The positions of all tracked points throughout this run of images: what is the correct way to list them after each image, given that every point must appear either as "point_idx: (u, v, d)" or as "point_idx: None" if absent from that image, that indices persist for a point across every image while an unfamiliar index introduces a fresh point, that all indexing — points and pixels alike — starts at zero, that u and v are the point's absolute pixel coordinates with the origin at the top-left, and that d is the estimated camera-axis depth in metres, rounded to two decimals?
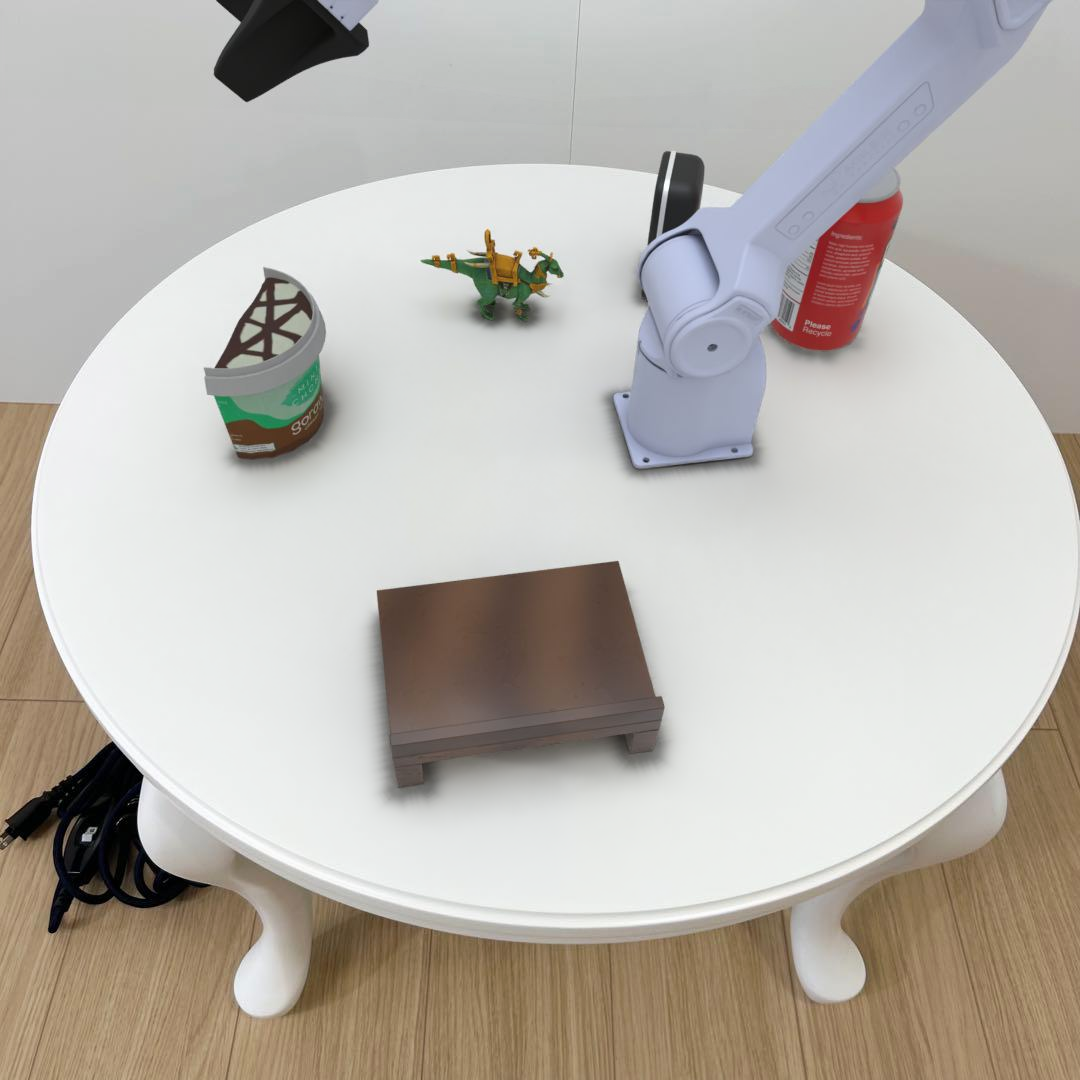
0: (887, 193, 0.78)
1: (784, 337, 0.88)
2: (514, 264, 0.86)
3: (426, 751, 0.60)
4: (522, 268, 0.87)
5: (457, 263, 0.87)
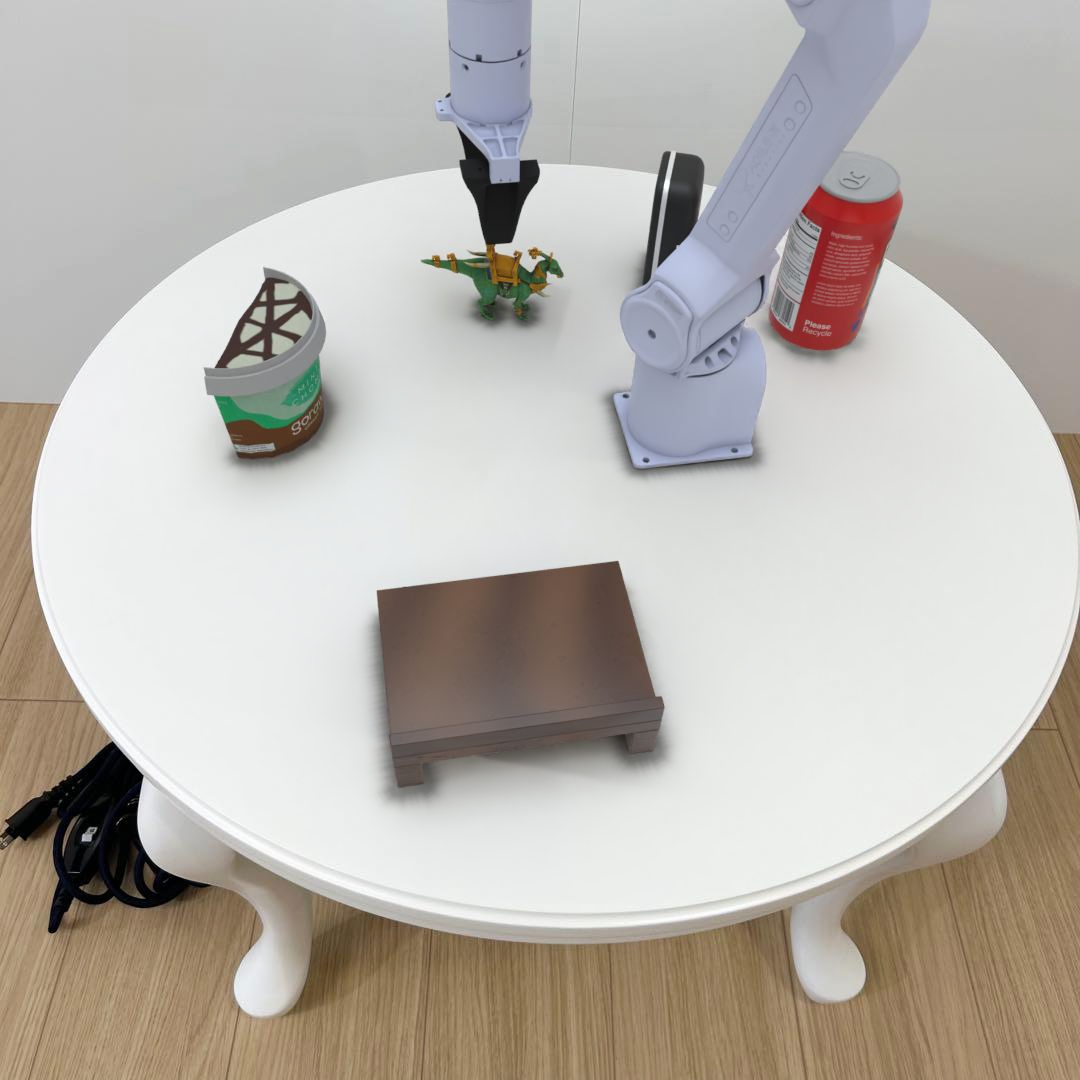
0: (887, 193, 0.78)
1: (784, 337, 0.88)
2: (514, 264, 0.86)
3: (426, 751, 0.60)
4: (522, 268, 0.87)
5: (457, 263, 0.87)
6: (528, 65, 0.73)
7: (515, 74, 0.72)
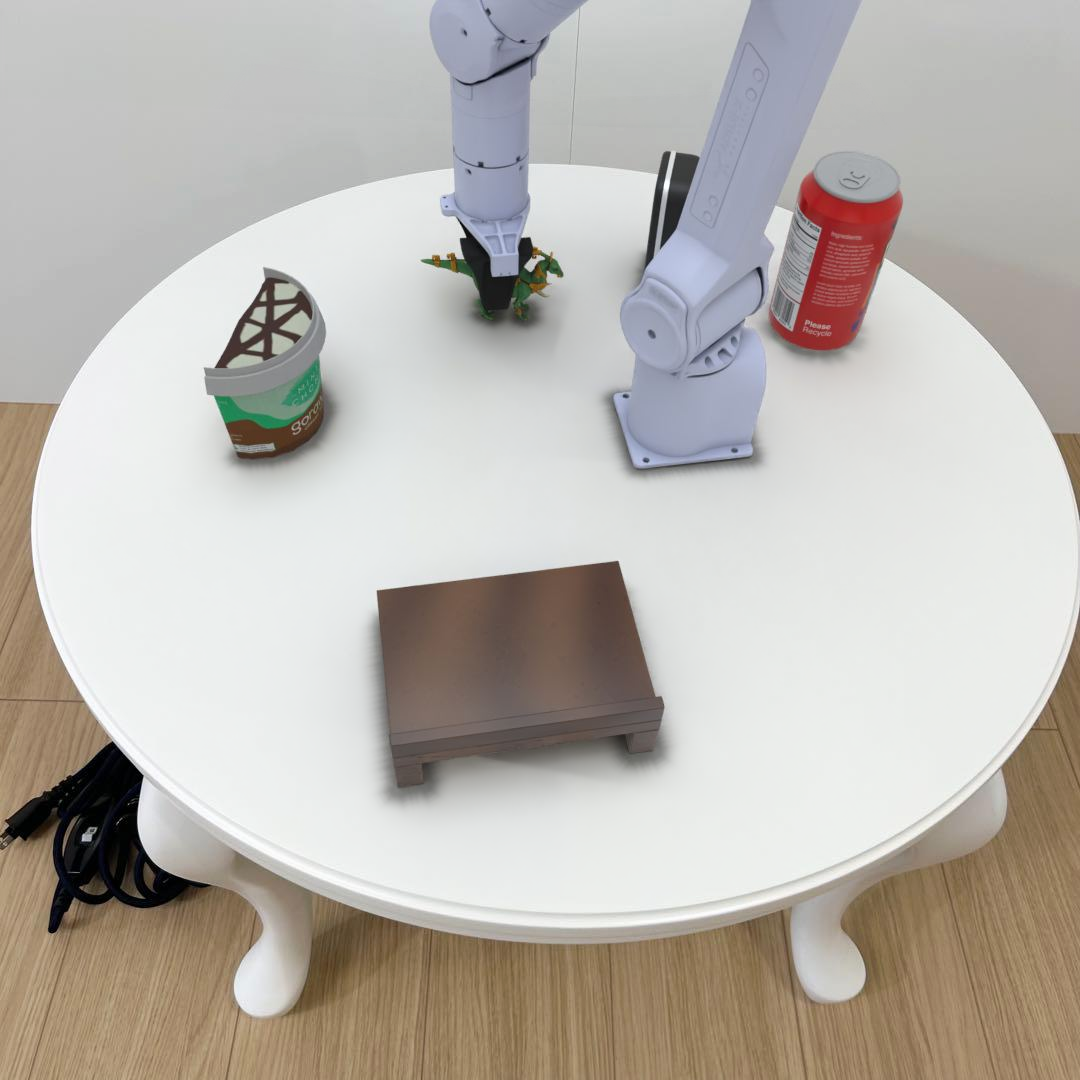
0: (887, 193, 0.78)
1: (784, 337, 0.88)
2: None
3: (426, 751, 0.60)
4: None
5: (457, 263, 0.87)
6: (526, 168, 0.79)
7: (514, 177, 0.78)
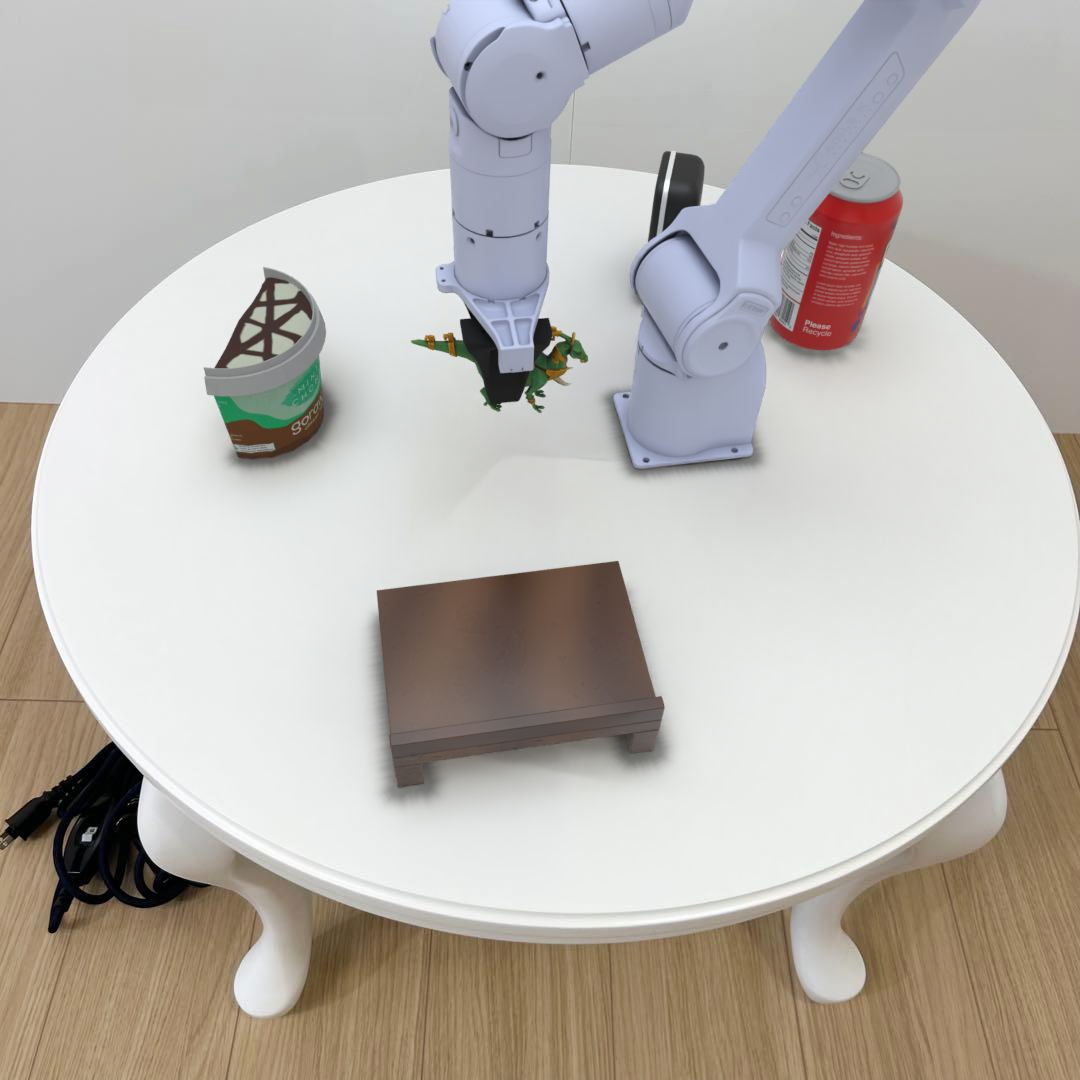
0: (887, 193, 0.78)
1: (784, 337, 0.88)
2: None
3: (426, 751, 0.60)
4: None
5: (456, 345, 0.70)
6: (545, 235, 0.62)
7: (529, 247, 0.61)
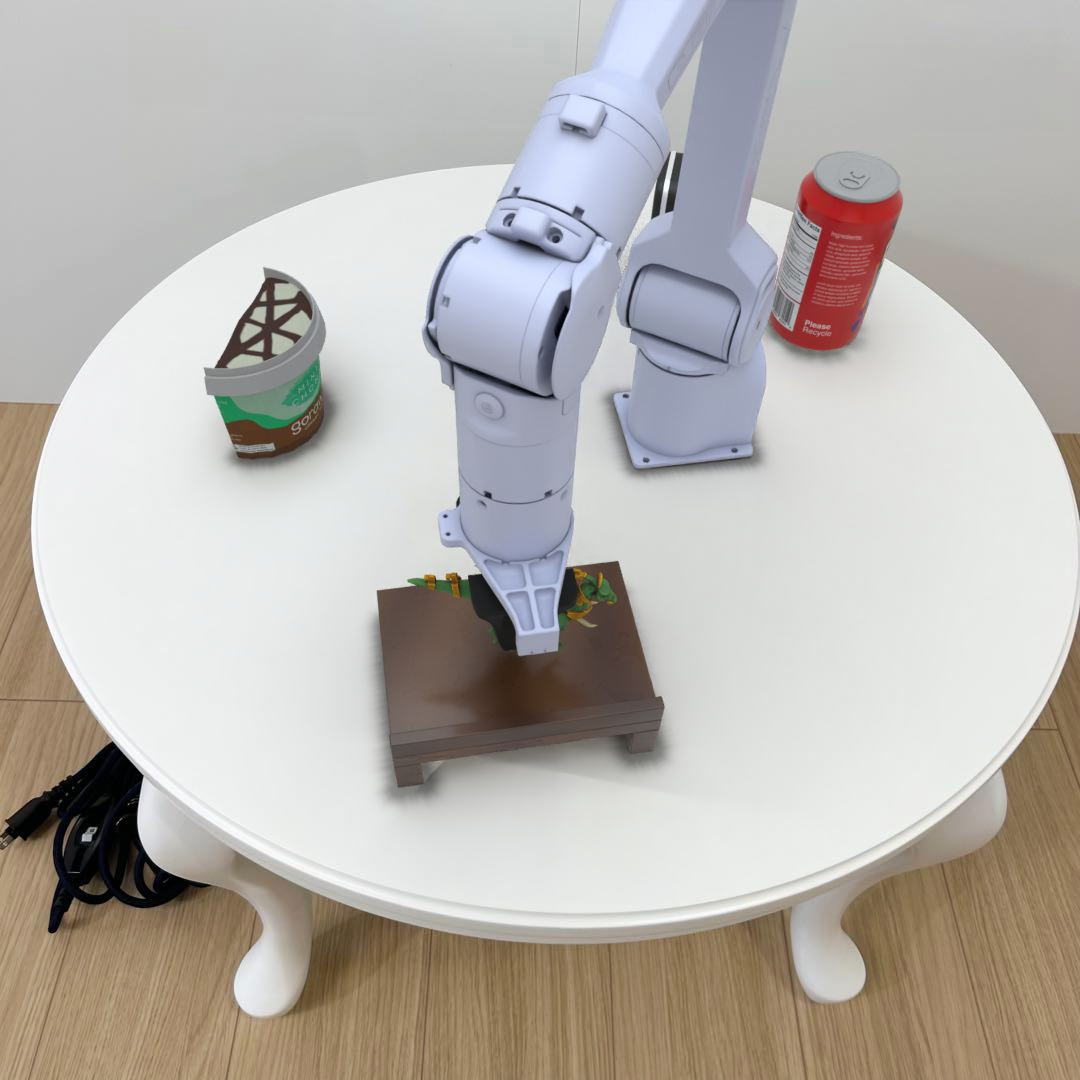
0: (887, 193, 0.78)
1: (784, 337, 0.88)
2: None
3: (426, 751, 0.60)
4: None
5: (461, 585, 0.59)
6: (570, 489, 0.52)
7: (552, 509, 0.51)
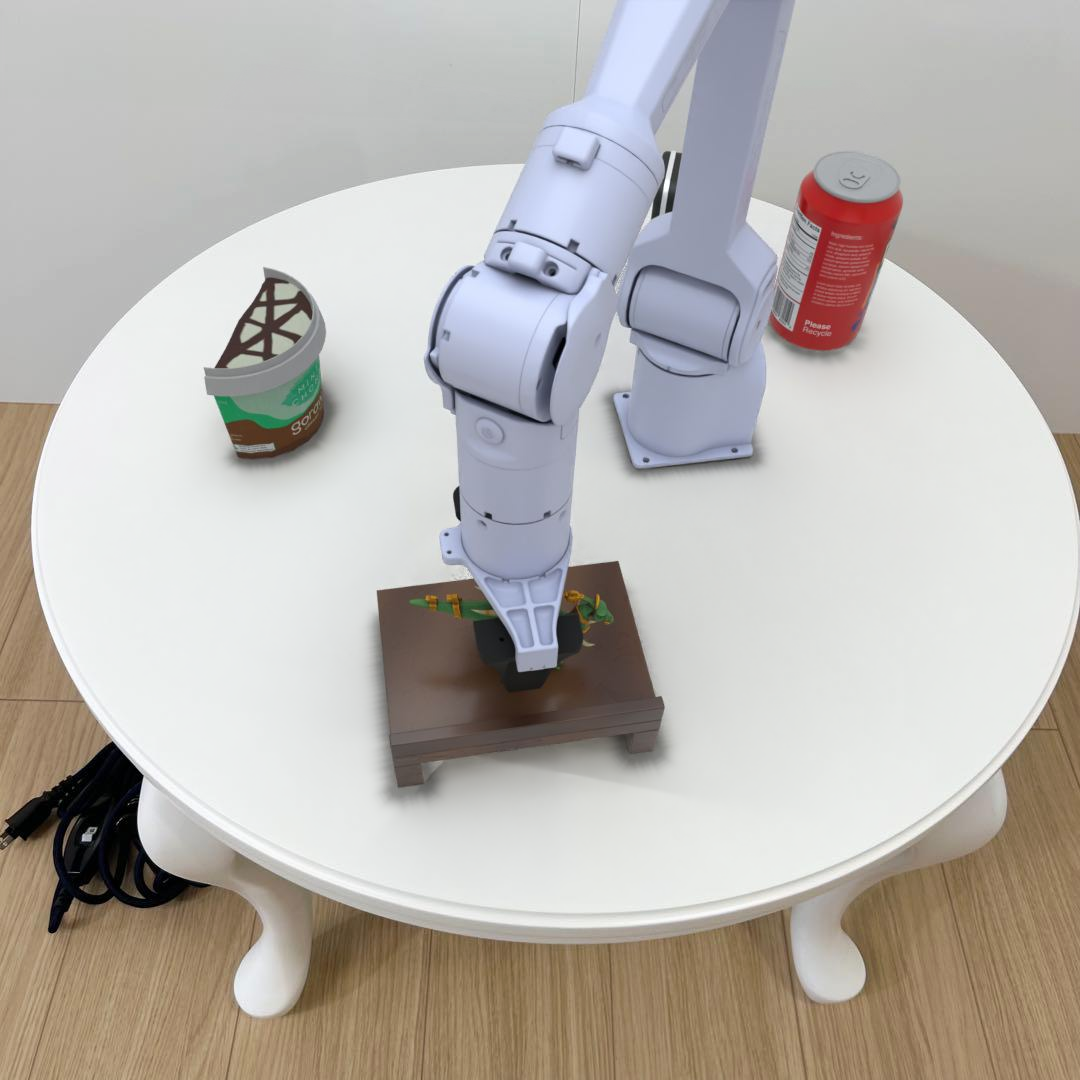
0: (887, 193, 0.78)
1: (784, 337, 0.88)
2: None
3: (426, 751, 0.60)
4: None
5: (462, 606, 0.61)
6: (569, 509, 0.53)
7: (551, 529, 0.52)
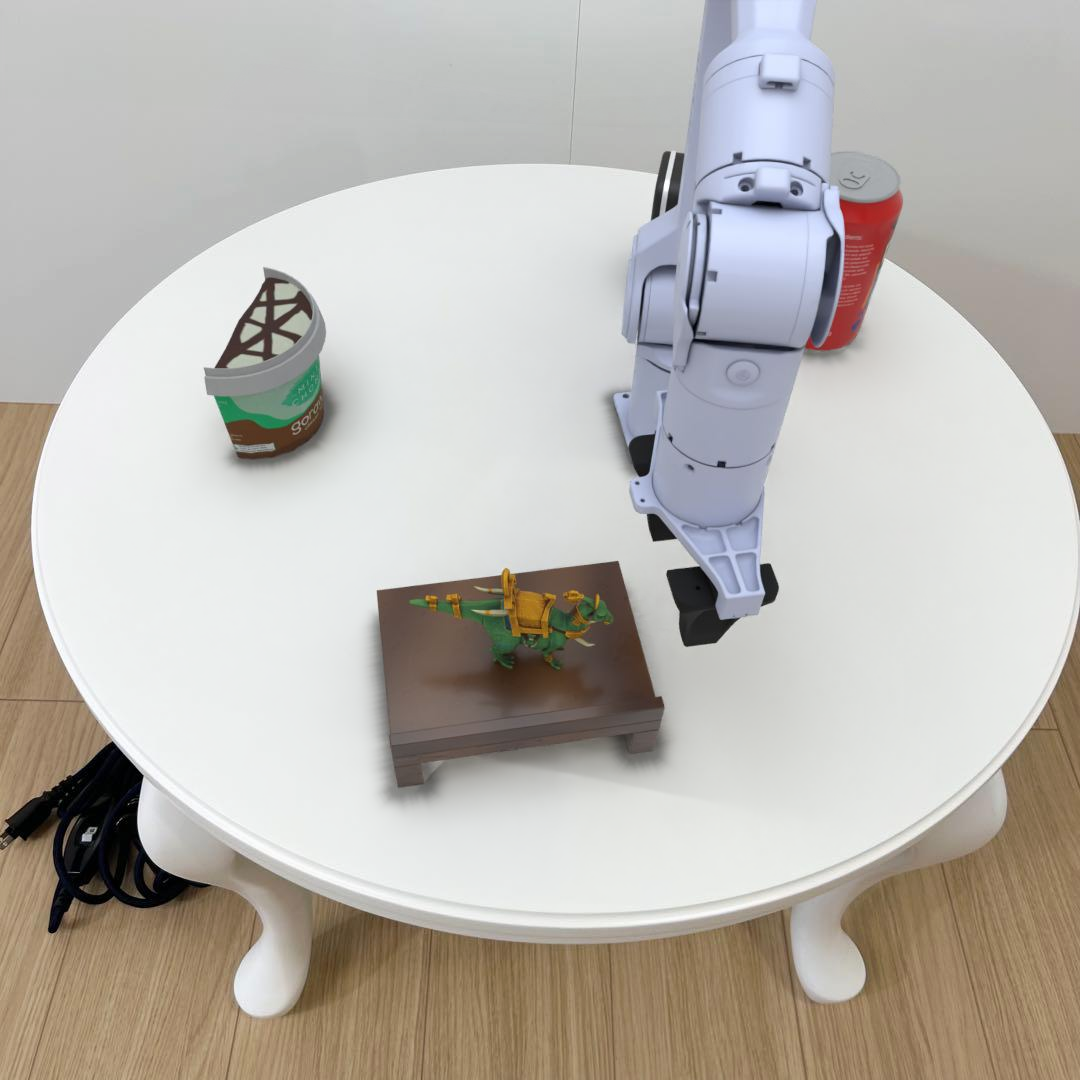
0: (887, 193, 0.78)
1: None
2: (543, 611, 0.60)
3: (426, 751, 0.60)
4: (555, 612, 0.61)
5: (462, 606, 0.61)
6: (772, 455, 0.52)
7: (757, 474, 0.51)
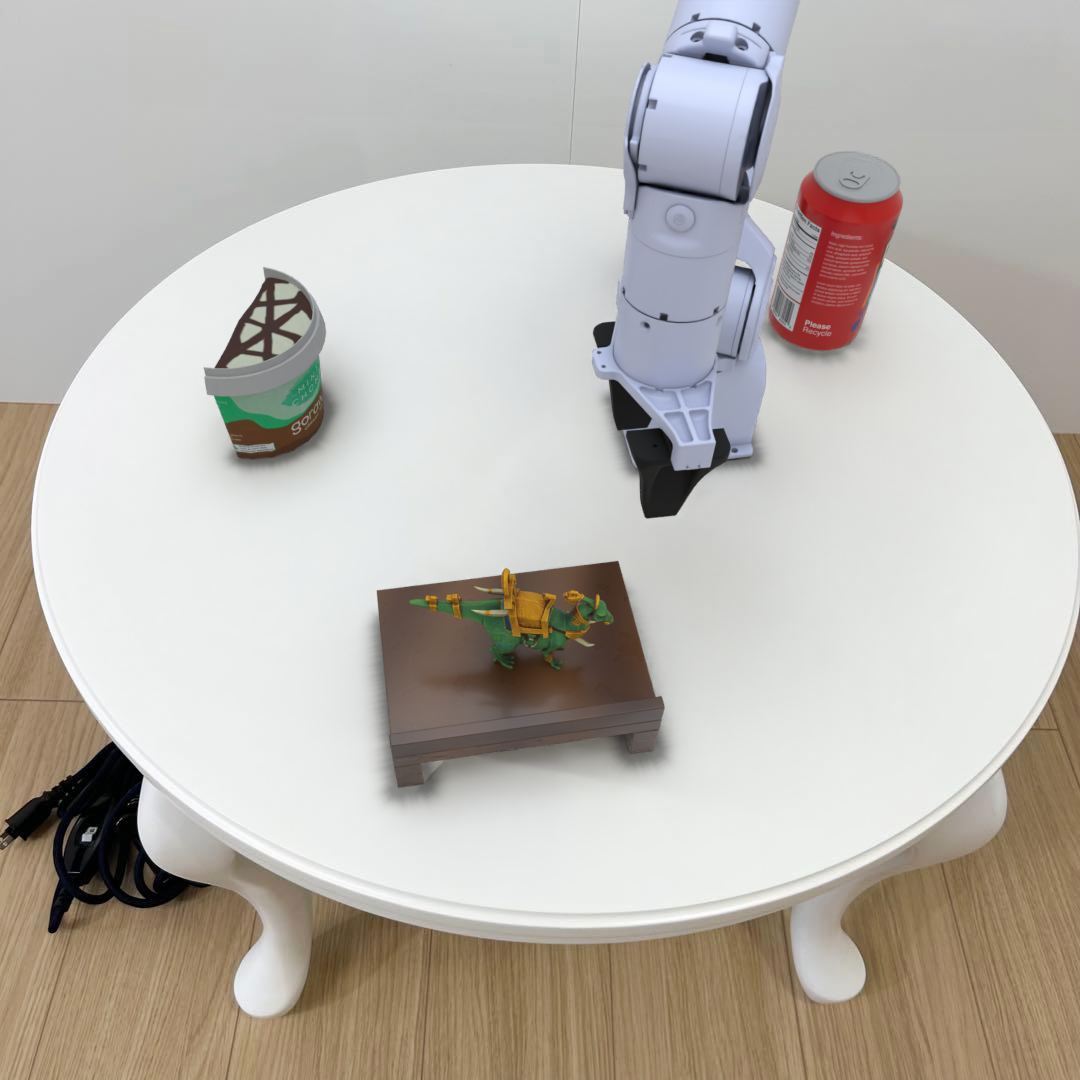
0: (887, 193, 0.78)
1: (784, 337, 0.88)
2: (544, 611, 0.60)
3: (426, 751, 0.60)
4: (555, 612, 0.61)
5: (462, 607, 0.61)
6: (723, 318, 0.56)
7: (708, 332, 0.55)
